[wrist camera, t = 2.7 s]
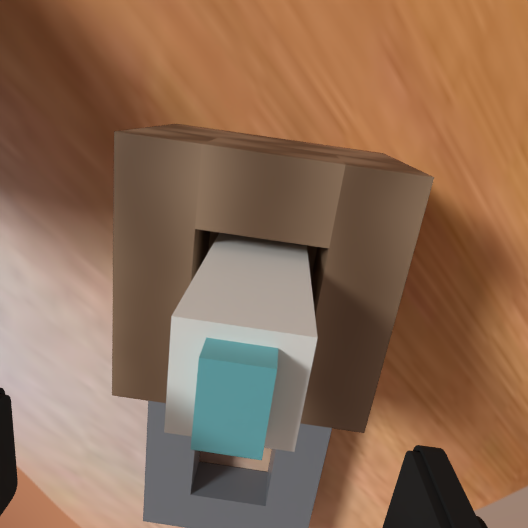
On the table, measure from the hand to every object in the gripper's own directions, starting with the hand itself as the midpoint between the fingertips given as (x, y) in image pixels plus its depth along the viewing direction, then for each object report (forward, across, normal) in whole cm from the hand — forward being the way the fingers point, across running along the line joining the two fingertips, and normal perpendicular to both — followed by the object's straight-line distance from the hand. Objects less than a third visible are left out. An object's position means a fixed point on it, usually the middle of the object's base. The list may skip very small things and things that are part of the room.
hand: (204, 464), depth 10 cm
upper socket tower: (+18, -1, -1) cm, 18 cm away
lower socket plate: (+18, -1, +15) cm, 23 cm away
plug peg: (+12, -1, -1) cm, 13 cm away
